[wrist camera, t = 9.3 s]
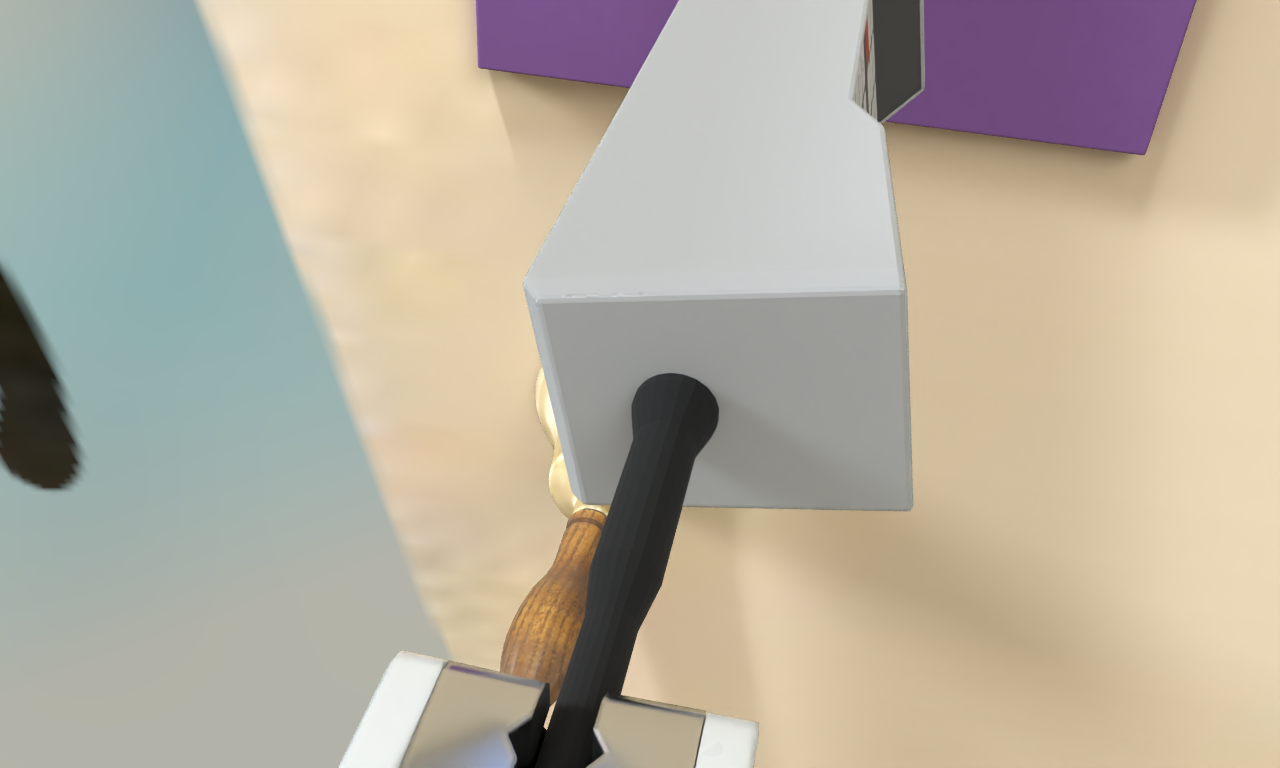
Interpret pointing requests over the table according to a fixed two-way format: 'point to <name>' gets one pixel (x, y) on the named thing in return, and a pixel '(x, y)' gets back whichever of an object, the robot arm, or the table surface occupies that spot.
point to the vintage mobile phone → (728, 299)
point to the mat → (954, 60)
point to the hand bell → (555, 578)
